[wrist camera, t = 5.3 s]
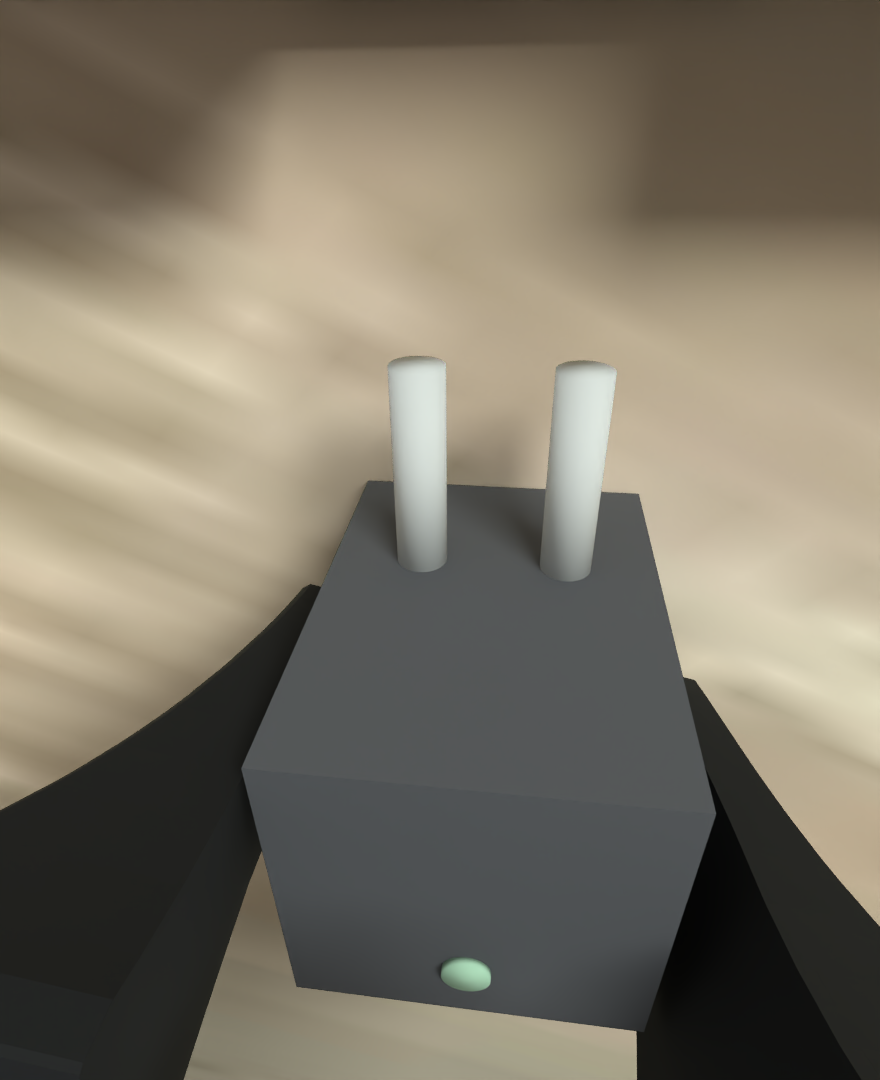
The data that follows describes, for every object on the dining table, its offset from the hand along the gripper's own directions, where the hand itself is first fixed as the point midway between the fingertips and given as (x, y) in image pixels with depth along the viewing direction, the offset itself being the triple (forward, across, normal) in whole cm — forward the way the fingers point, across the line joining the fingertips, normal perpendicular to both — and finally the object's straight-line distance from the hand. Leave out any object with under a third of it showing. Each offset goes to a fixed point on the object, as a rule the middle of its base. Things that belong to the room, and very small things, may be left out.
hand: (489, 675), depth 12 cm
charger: (+2, 0, -2) cm, 2 cm away
